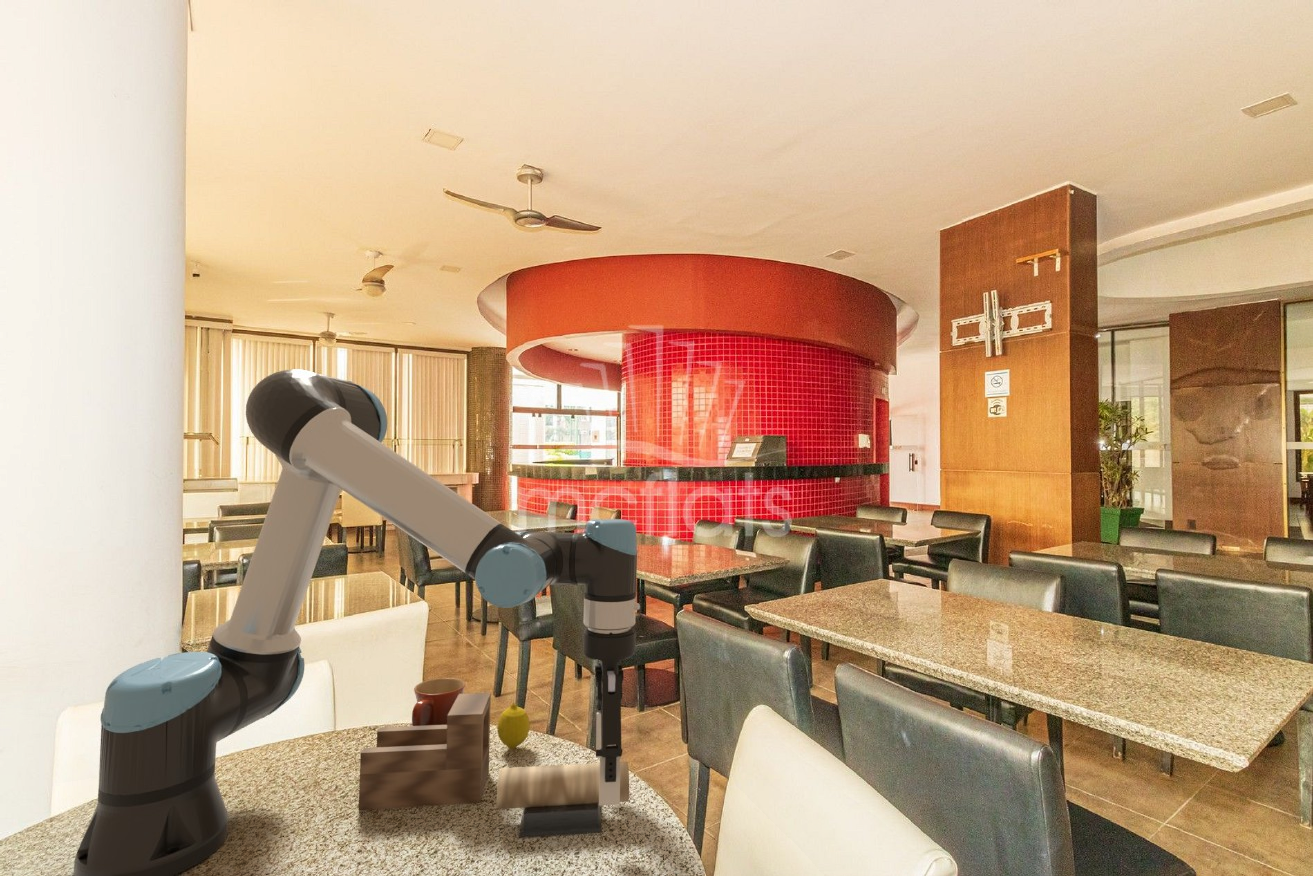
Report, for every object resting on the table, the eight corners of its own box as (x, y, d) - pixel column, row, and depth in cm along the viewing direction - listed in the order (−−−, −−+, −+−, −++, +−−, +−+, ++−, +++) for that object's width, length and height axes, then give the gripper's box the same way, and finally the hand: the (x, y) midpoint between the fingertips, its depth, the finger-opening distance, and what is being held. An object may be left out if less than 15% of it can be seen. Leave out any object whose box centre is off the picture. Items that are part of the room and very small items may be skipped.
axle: (496, 818, 83) (496, 785, 83) (501, 791, 88) (501, 760, 87) (628, 810, 86) (629, 778, 85) (625, 784, 91) (626, 753, 90)
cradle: (518, 838, 82) (519, 817, 82) (524, 806, 89) (524, 787, 90) (601, 832, 83) (601, 812, 83) (599, 801, 91) (599, 783, 91)
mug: (430, 732, 115) (431, 676, 115) (472, 736, 113) (474, 679, 114) (390, 761, 103) (392, 698, 104) (437, 766, 101) (439, 703, 102)
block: (358, 810, 88) (361, 719, 89) (378, 779, 97) (381, 696, 98) (480, 803, 90) (482, 714, 91) (488, 773, 99) (490, 692, 100)
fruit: (519, 758, 104) (520, 710, 105) (490, 754, 106) (491, 706, 106) (534, 745, 110) (535, 699, 110) (507, 740, 111) (508, 695, 112)
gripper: (644, 651, 77) (642, 826, 75) (628, 607, 101) (626, 739, 100) (584, 652, 76) (580, 830, 75) (582, 608, 101) (580, 741, 99)
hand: (606, 778), depth 87 cm, fingers open, 13 cm apart
